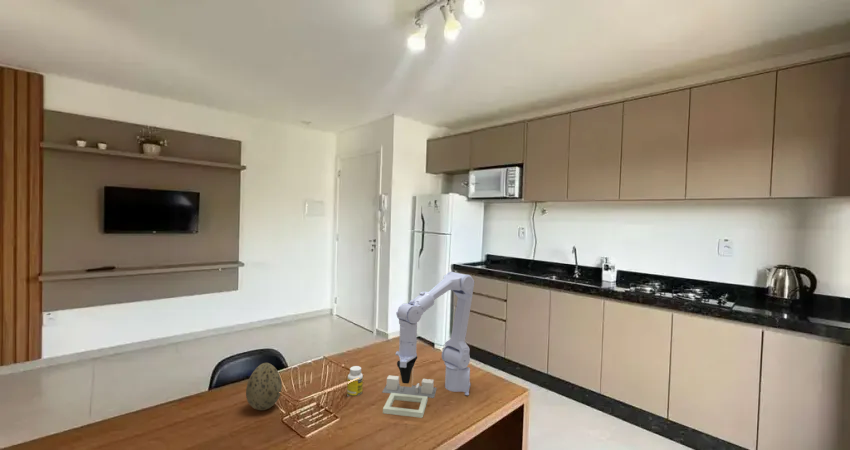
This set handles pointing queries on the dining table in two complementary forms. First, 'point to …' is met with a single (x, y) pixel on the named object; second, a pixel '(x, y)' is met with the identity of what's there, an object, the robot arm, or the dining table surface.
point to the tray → (404, 411)
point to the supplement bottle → (355, 382)
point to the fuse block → (418, 390)
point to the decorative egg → (263, 387)
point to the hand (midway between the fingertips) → (406, 380)
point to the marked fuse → (409, 381)
